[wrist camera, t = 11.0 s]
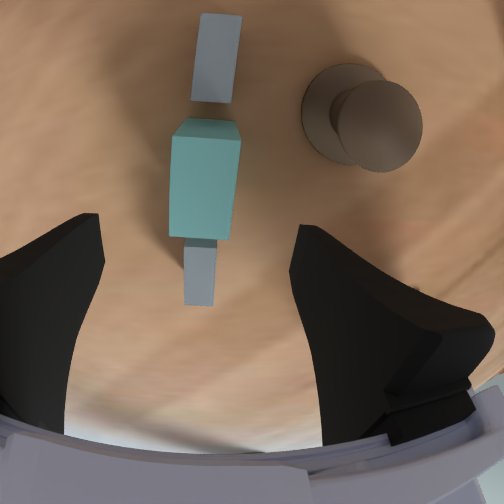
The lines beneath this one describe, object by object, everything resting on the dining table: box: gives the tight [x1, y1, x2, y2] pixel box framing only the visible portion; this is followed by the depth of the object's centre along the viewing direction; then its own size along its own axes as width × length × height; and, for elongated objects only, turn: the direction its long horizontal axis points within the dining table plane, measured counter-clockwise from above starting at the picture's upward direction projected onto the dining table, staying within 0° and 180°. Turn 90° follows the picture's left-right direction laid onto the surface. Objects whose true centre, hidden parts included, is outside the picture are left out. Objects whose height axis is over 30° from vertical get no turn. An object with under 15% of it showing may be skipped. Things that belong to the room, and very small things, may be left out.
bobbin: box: [301, 64, 423, 172], centre depth 16 cm, size 7×7×4 cm
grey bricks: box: [184, 13, 243, 306], centre depth 17 cm, size 18×2×4 cm, turn 173°
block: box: [169, 118, 241, 240], centre depth 16 cm, size 5×3×6 cm, turn 172°
